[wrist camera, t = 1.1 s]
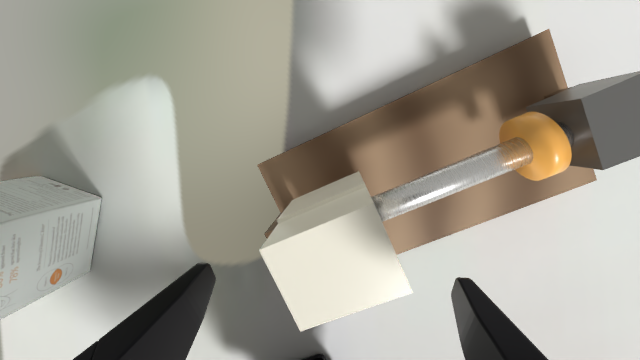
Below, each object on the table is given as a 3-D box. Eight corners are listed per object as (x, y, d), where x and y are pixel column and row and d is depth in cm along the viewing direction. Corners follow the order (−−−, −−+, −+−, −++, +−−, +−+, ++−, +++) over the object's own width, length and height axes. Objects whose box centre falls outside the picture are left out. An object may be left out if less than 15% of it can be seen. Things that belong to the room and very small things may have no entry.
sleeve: (318, 254, 18) (302, 335, 11) (292, 199, 18) (256, 245, 10) (384, 228, 18) (414, 297, 10) (358, 171, 17) (371, 198, 10)
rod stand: (317, 275, 23) (305, 345, 15) (263, 162, 22) (219, 177, 14) (577, 176, 20) (728, 202, 12) (532, 37, 18) (669, -34, 11)
